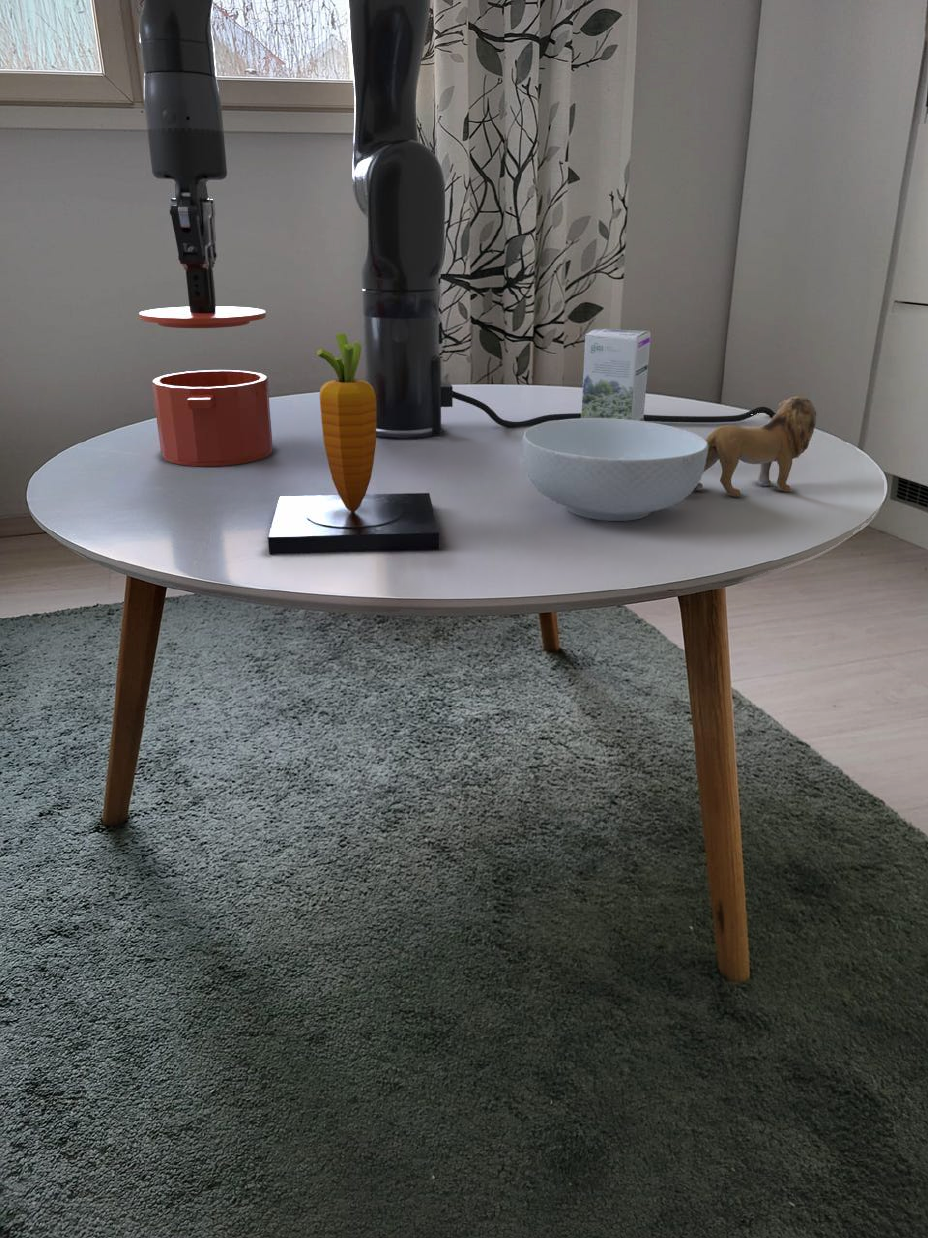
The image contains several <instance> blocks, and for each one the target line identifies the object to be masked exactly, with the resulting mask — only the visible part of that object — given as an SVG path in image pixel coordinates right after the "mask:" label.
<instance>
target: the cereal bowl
mask: <svg viewBox="0 0 928 1238" xmlns="http://www.w3.org/2000/svg"><path fill="white" fill-rule="evenodd" d="M521 449H522V461H523V465H524V470H525V473H526V475H527V478H528V479H529V481H530V483H532V485H533V487H535V488H536V490H537V491H538V492H540V493H541V494H542V495H543V496H545V497H546V498H548V499H549V500H551V501H554V502H556V503H557V504H560V505H562V506H565V507H566V509H567V510H568V511H569V512H570V513H572V514H574V515H576V516H578V517H583V518H586V519H590V520H597V521H606V522H627V521H636V520H641V519H643V518H645V517H647V516H649V515H650V514H651V513H652V512H657V511H662V510H665V509H667V508H670V507H672V506H674V505H677V504H679V503H680V502H682V501H683V500H685V499H686V498H687V497H689V496H690V495H691V494H692V493H691V492H692V491H693V490H694V489H695V488H696V486H697V485H698V483H700V481H701V479H702V476H703V474H704V472H705V471H704V467H705V464H706V458H707V454H708V443H707V441H706V439H705V438H704V437H702V436H701V435H699V434H696V432H695V433H694V432H692V431H690V430H686V429H683V428H680V427H675V426H672V425H666V424H661V423H658V422H652V421H636V420H626V419H611V418H577V419H565V420H554V421H547V422H542V423H538V424H535V425H532V426H531V427H529V428H528V429H526V430H525V431H524V433H523V435H522V448H521ZM703 471H704V472H703Z"/></svg>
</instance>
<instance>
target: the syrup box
mask: <svg viewBox="0 0 928 1238" xmlns="http://www.w3.org/2000/svg"><path fill="white" fill-rule="evenodd" d="M650 349H651V331H649V330H635V329H634V330H633V329H631V330H630V329H615V328H614V329H613V328H595V329H592V330H590V331H589V332H587V333H586V334H585V336H584V355H583V374H582V375H583V377H582V393H581V412H580V413H581V418H611V419H626V420H636V421H643V418H644V415H645V403H646V395H647V393H646V392H647V381H648V371H649V361H650Z"/></svg>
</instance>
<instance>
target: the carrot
mask: <svg viewBox="0 0 928 1238" xmlns="http://www.w3.org/2000/svg"><path fill="white" fill-rule="evenodd" d="M335 338H336V342H337V345H338V349H339V350H340V354H341V357H342V358H341V357H339V356H337V357H335V356H334V355H333V354H332V353H331V352H330V351H327V350H326V349H324V348H321V349H319V350H317V353H316V354H317V356H318V357H320V358H322V359H323V360H324V361H325V360H326V362H327V363H328V364H329V365H330V366H331V367H332V368H333V370H334V372H335V373H336V375H337V379H334V380H329V381H326V382H324V383H323V384H322V386H321V387H320V388H319V409H320V417H321V418H320V420H321V429H322V430H321V431H322V436H323V437H322V438H323V446H324V449H325V454H326V459H327V464H328V467H329V471H330V475H331V479H332V482H333V484H334V487H335V490H336V492H337V495H339V496H340V498H341V499H342V501H343V503H344V505H345V507H346V508H347V509H348V510H349V511H350V512H352V513H354V512H355V511H356V510H357V509H358V508H359V507H360V505H361V502H362V500H363V498H364V496H365V494H367V491H368V488H369V485H370V482H371V479H372V474H373V468H374V463H375V455H376V447H377V435H376V394H375V391H374V389H373V387H372V386H371V385H370V384H369V383H368V382H366V380H364V379H359V378H355V375H356V372H357V369H358V366H359V362H360V359H361V352H362V344H360V343H359V341H354V342H353V346H352V345H351V344H350V342H349V340H348V337H347V335H346V333H337V334H336V335H335Z"/></svg>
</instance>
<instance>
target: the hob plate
mask: <svg viewBox="0 0 928 1238" xmlns="http://www.w3.org/2000/svg"><path fill="white" fill-rule="evenodd" d="M267 543H268V554H269V555H299V554H300V555H301V554H333V553H334V554H335V553H365V552H366V553H367V552H368V553H369V552H397V551H398V552H400V551H433V550H434V551H436V550H437V551H438V550H440V531H439V526H438V522H437V519H436V514H435V511H434V505H433V503H432V498H431V494H430V493H429V492H413V493H412V492H408V493H407V492H406V493H370V494H369V493H368V494H367V493H366V494H365V496H364V498H363V500H362V502H361V505H360V507H359V508H358V509H357V510H356V511H355V512H354V513H352V512H350V511H349V510H348V509H347V508H346V507H345V505H344V503H343V501H342V499H341V498H340V496H339V494H327V495H324V494H323V495H288V496H287V495H285V496H283V495H282V496H281V495H280V496H279V497H278V500H277V504H276V509H275V512H274V514H273V518H272V522H271V525H270V529H269V533H268V536H267Z"/></svg>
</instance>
